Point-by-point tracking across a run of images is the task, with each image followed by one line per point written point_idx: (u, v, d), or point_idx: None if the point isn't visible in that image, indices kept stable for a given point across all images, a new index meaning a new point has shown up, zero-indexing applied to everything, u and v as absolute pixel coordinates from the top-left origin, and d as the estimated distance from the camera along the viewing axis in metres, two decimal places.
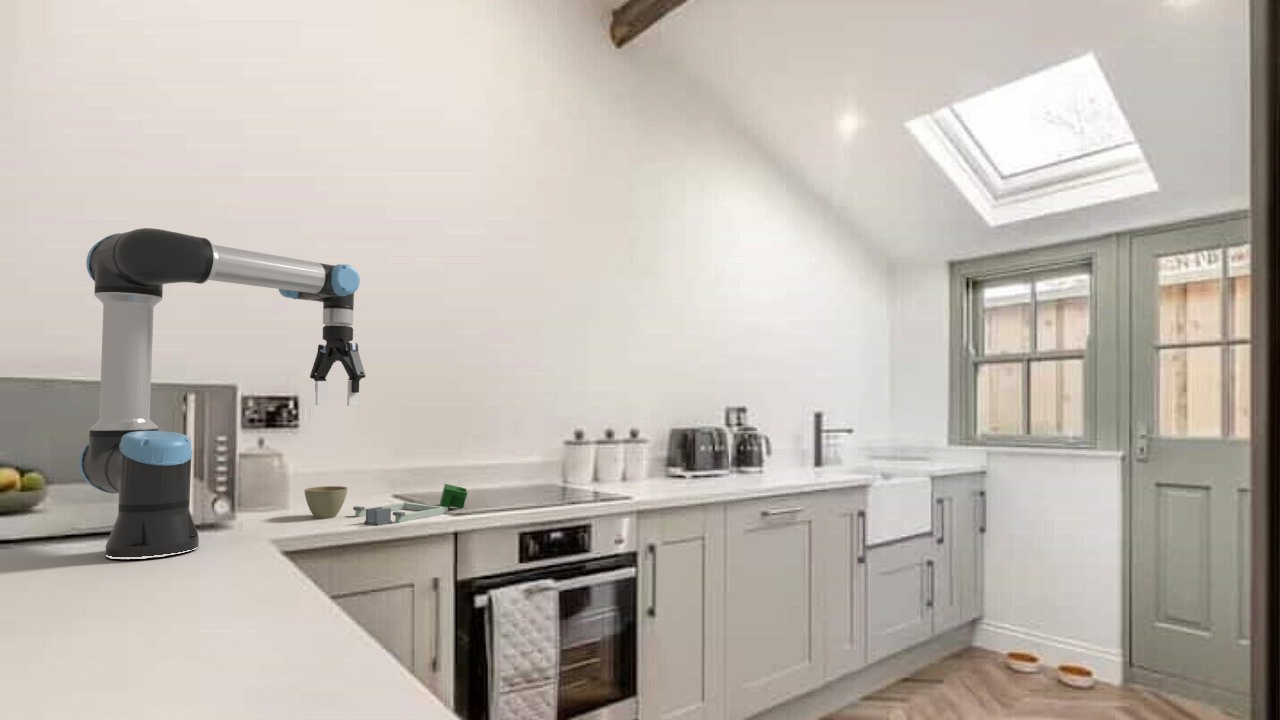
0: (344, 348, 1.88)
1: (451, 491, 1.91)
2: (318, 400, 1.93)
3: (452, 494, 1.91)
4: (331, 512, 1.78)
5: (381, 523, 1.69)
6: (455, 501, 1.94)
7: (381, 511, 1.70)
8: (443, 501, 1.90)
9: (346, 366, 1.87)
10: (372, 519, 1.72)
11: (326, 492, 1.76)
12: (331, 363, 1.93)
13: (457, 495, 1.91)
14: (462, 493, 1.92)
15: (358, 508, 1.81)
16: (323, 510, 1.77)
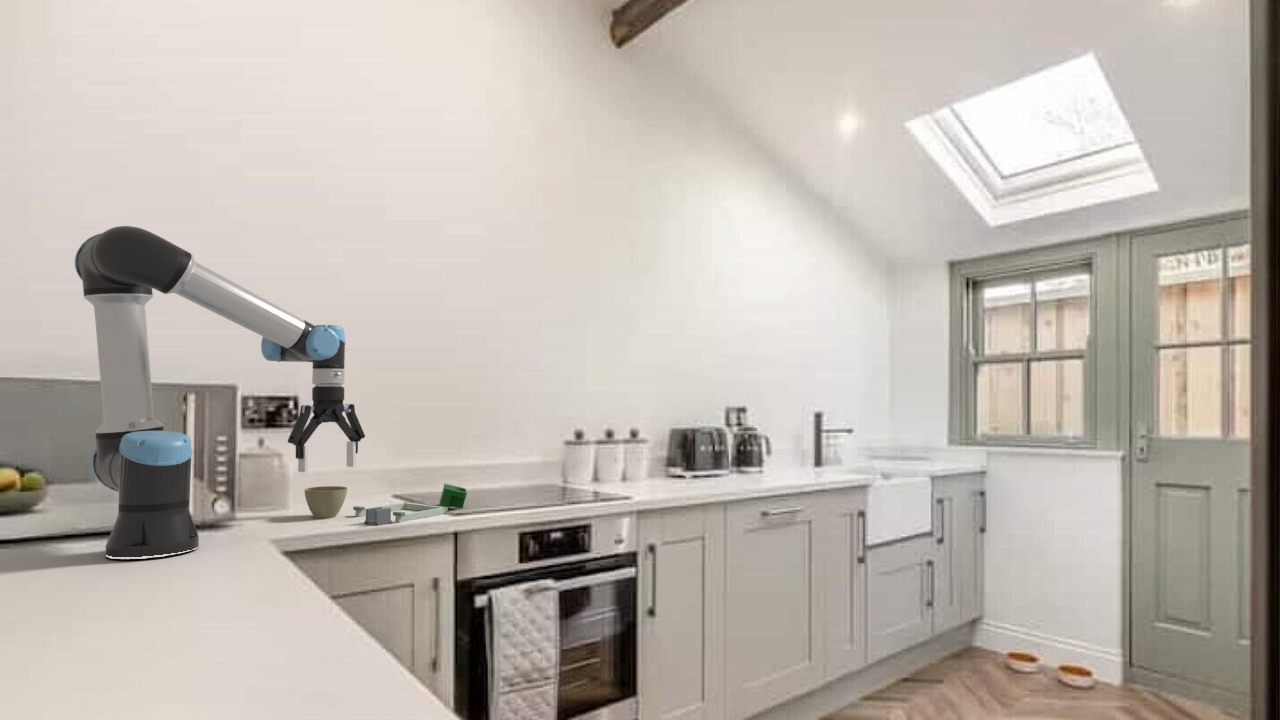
0: (312, 410, 1.79)
1: (451, 491, 1.91)
2: (347, 461, 1.87)
3: (452, 494, 1.91)
4: (331, 512, 1.78)
5: (381, 523, 1.69)
6: (455, 501, 1.94)
7: (381, 511, 1.70)
8: (443, 501, 1.90)
9: None
10: (372, 519, 1.72)
11: (326, 492, 1.76)
12: (341, 424, 1.84)
13: (457, 495, 1.91)
14: (462, 493, 1.91)
15: (358, 508, 1.81)
16: (323, 510, 1.77)
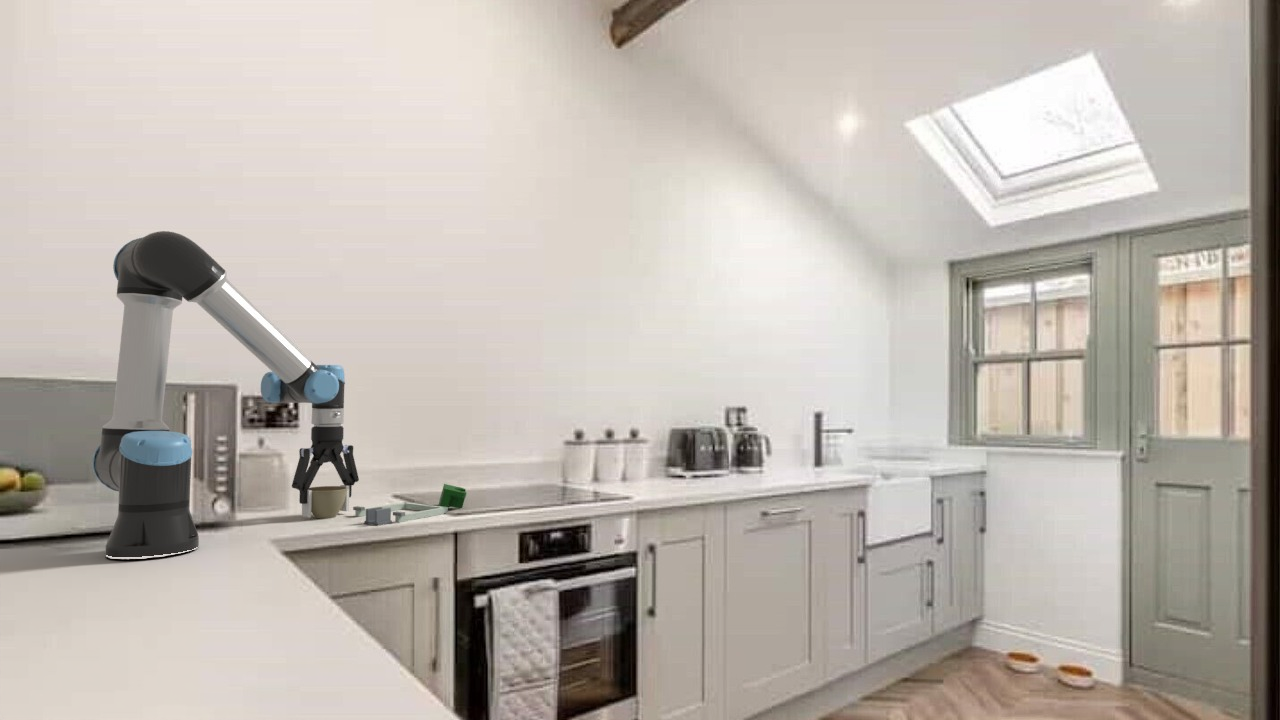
0: None
1: (450, 491, 1.91)
2: None
3: (451, 494, 1.91)
4: (331, 512, 1.78)
5: (381, 523, 1.69)
6: (454, 501, 1.93)
7: (381, 511, 1.70)
8: (442, 501, 1.90)
9: None
10: (372, 519, 1.72)
11: (326, 492, 1.76)
12: (338, 465, 1.83)
13: (456, 495, 1.91)
14: (461, 493, 1.91)
15: (358, 508, 1.81)
16: (323, 510, 1.77)
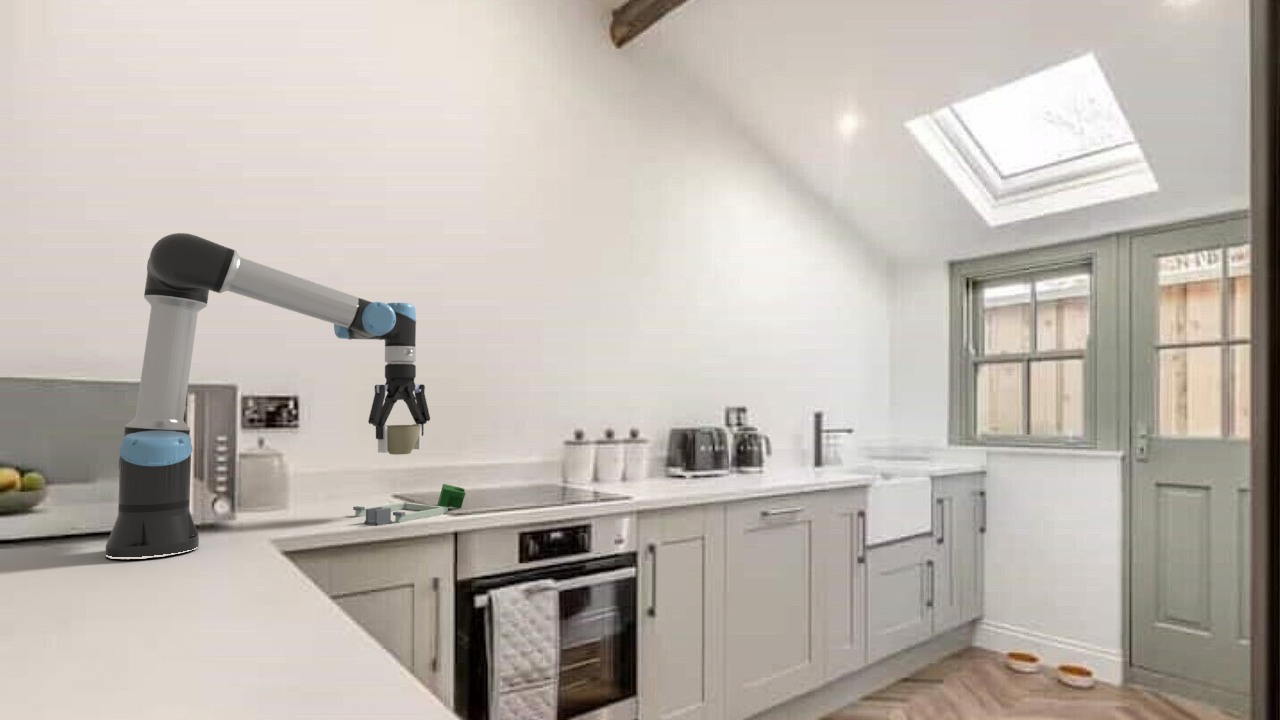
0: (385, 388, 1.80)
1: (449, 491, 1.91)
2: None
3: (450, 494, 1.91)
4: (406, 448, 1.80)
5: (381, 523, 1.69)
6: (453, 501, 1.93)
7: (381, 511, 1.70)
8: (441, 501, 1.90)
9: None
10: (372, 519, 1.72)
11: (401, 428, 1.78)
12: (410, 403, 1.85)
13: (455, 495, 1.91)
14: (460, 493, 1.91)
15: (358, 508, 1.81)
16: (399, 446, 1.79)
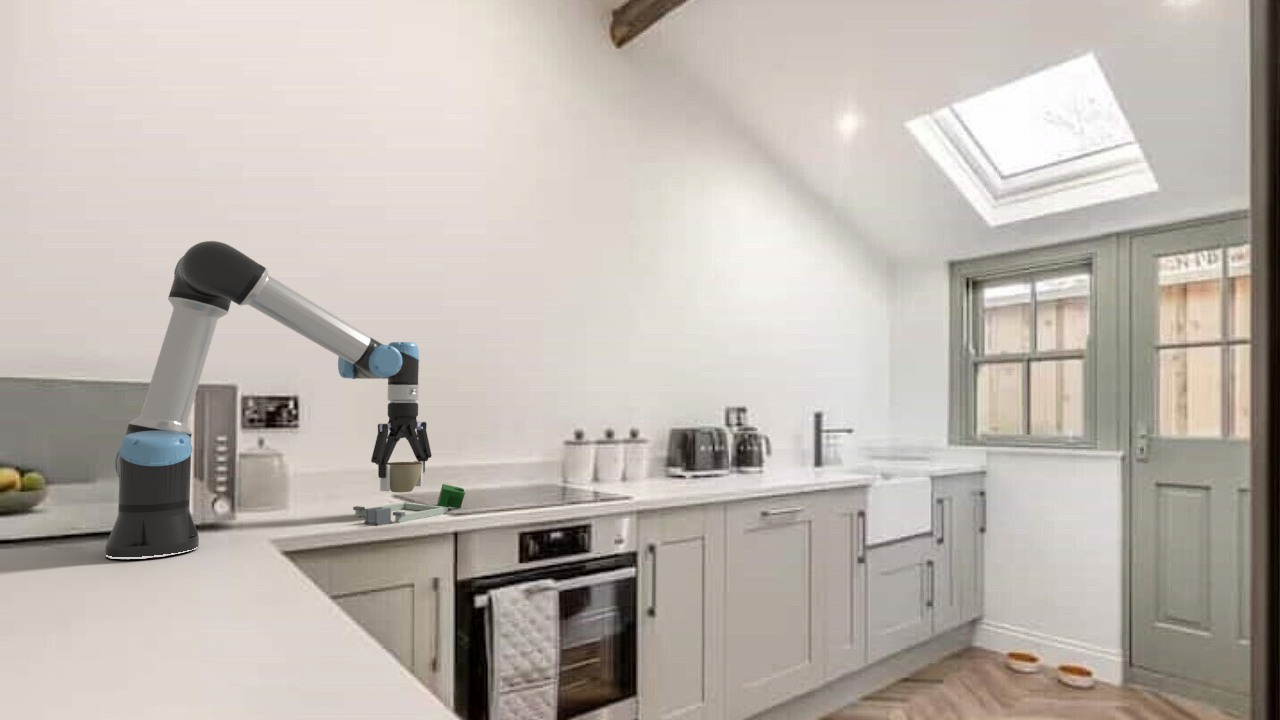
0: None
1: (448, 491, 1.91)
2: None
3: (449, 494, 1.91)
4: (408, 486, 1.82)
5: (381, 523, 1.69)
6: (452, 501, 1.93)
7: (381, 511, 1.70)
8: (440, 501, 1.90)
9: None
10: (372, 519, 1.72)
11: (404, 466, 1.80)
12: (413, 441, 1.86)
13: (454, 495, 1.91)
14: (459, 493, 1.91)
15: (358, 508, 1.81)
16: (401, 484, 1.80)
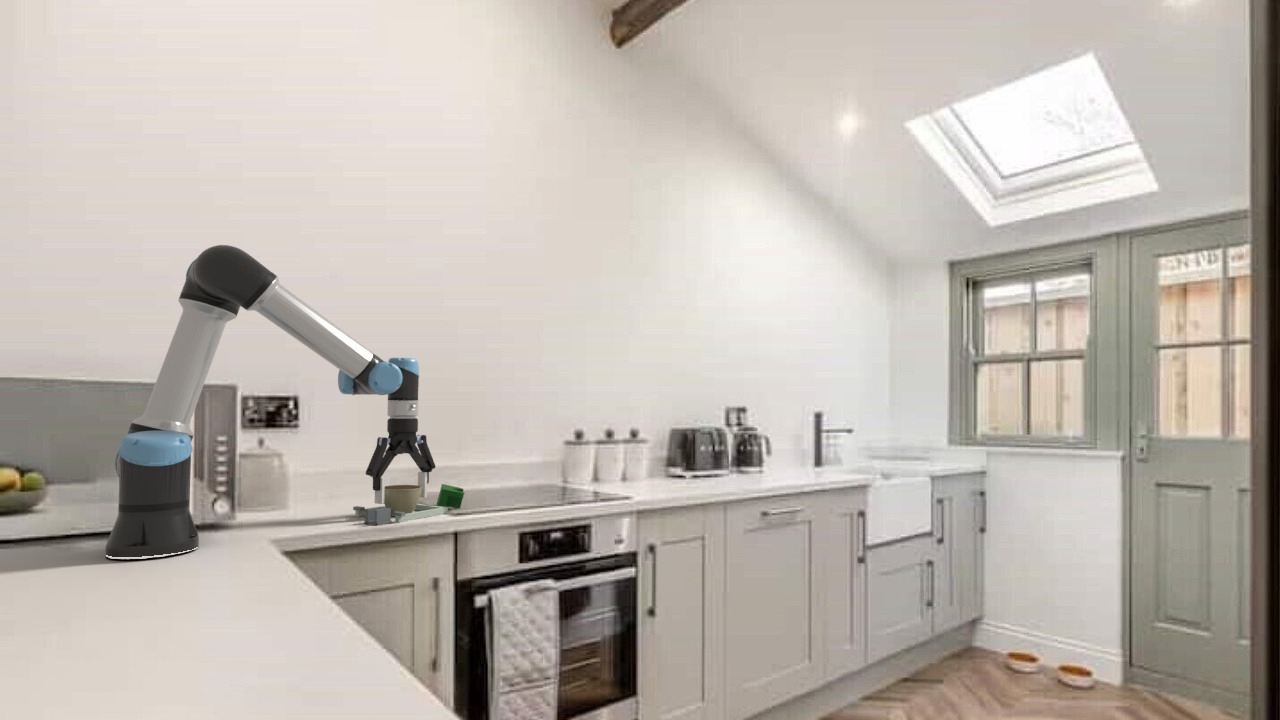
0: None
1: (448, 491, 1.90)
2: None
3: (449, 494, 1.91)
4: (407, 510, 1.81)
5: (381, 523, 1.69)
6: (452, 501, 1.93)
7: (381, 511, 1.70)
8: (440, 501, 1.90)
9: None
10: (372, 519, 1.72)
11: (403, 490, 1.79)
12: (414, 455, 1.87)
13: (454, 495, 1.91)
14: (459, 493, 1.91)
15: (358, 508, 1.81)
16: (400, 508, 1.80)
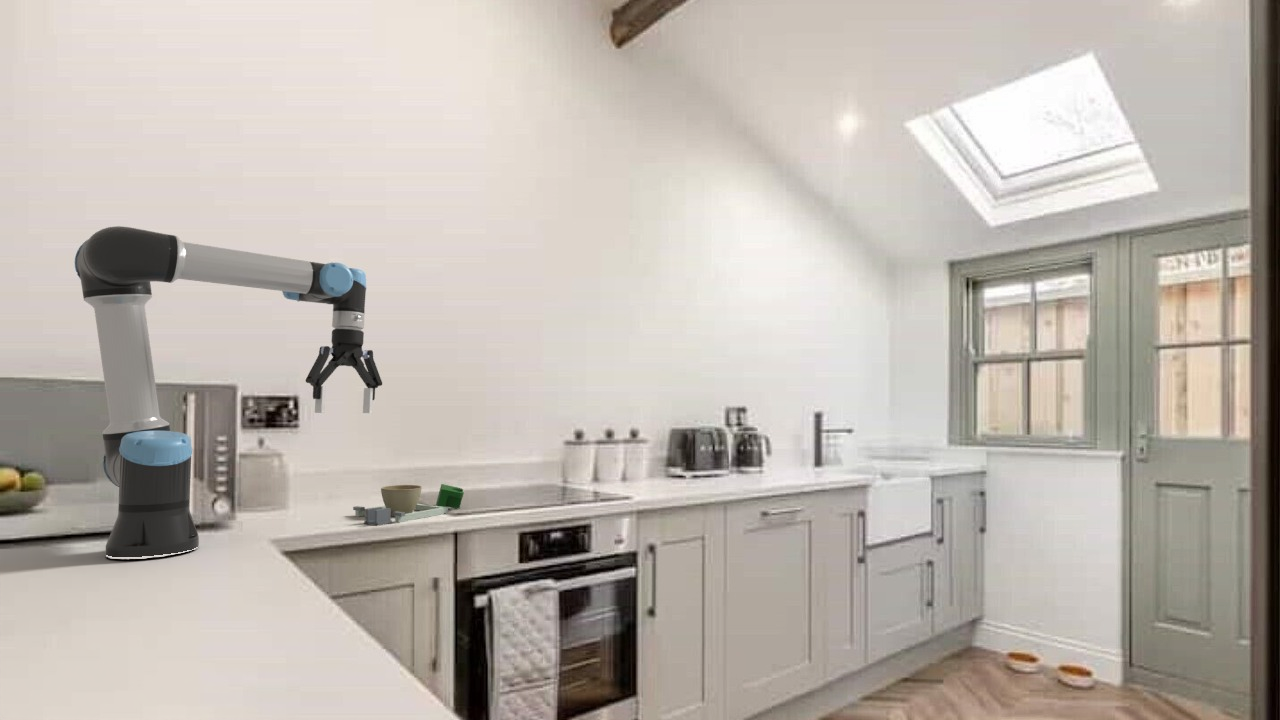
0: (330, 352, 1.79)
1: (447, 491, 1.90)
2: (363, 408, 1.86)
3: (448, 494, 1.90)
4: (407, 510, 1.81)
5: (381, 523, 1.69)
6: (451, 501, 1.93)
7: (381, 511, 1.70)
8: (439, 501, 1.90)
9: None
10: (372, 519, 1.72)
11: (403, 490, 1.79)
12: (359, 369, 1.84)
13: (453, 495, 1.91)
14: (458, 493, 1.91)
15: (358, 508, 1.81)
16: (400, 508, 1.80)
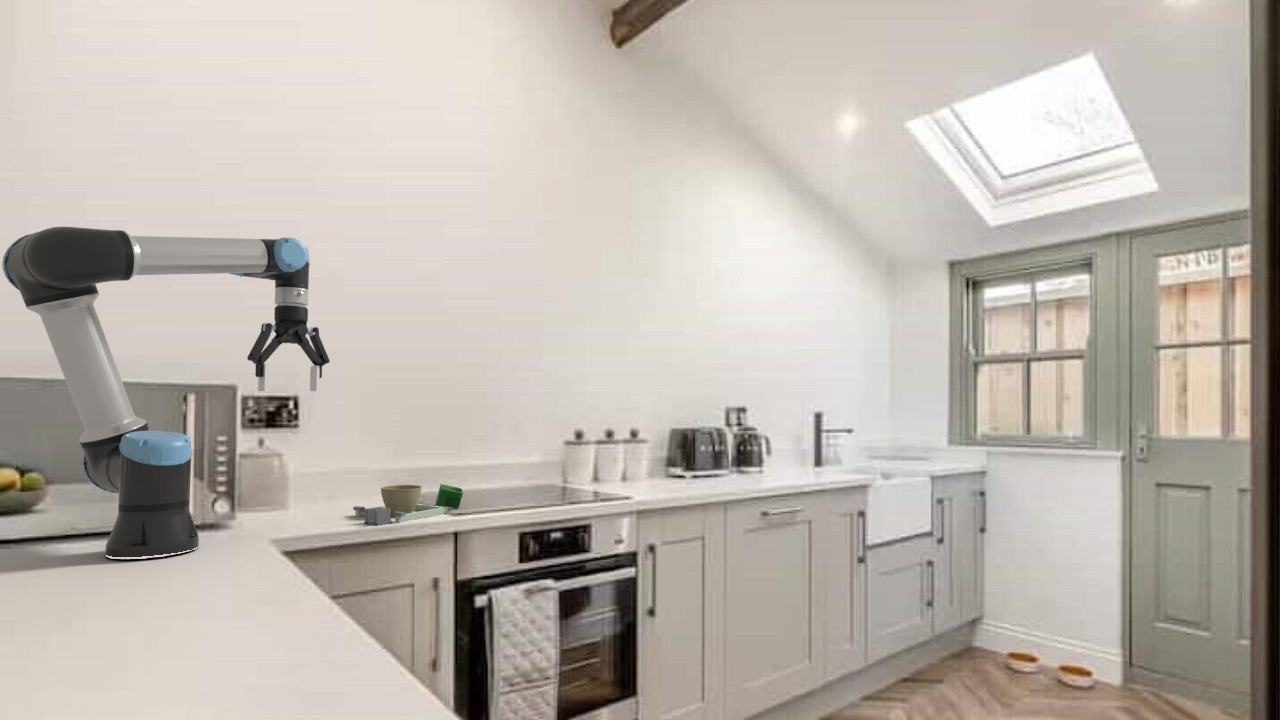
0: (273, 329, 1.75)
1: (446, 491, 1.90)
2: (310, 386, 1.84)
3: (447, 494, 1.90)
4: (407, 510, 1.81)
5: (381, 523, 1.69)
6: (451, 501, 1.93)
7: (381, 511, 1.70)
8: (438, 501, 1.90)
9: None
10: (372, 519, 1.72)
11: (403, 490, 1.79)
12: (305, 346, 1.81)
13: (452, 495, 1.91)
14: (458, 493, 1.91)
15: (358, 508, 1.81)
16: (400, 508, 1.80)
